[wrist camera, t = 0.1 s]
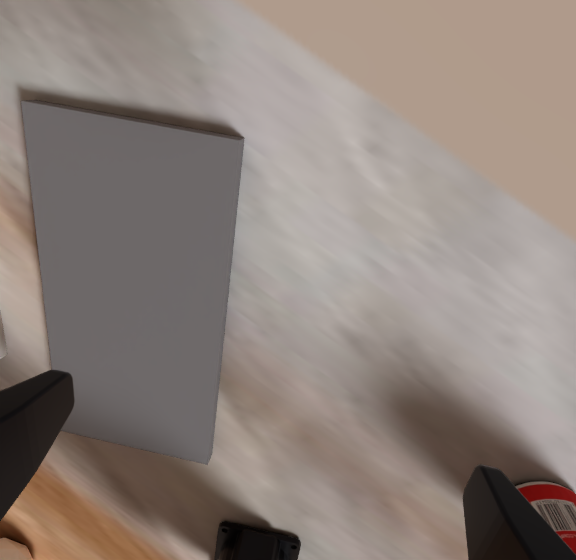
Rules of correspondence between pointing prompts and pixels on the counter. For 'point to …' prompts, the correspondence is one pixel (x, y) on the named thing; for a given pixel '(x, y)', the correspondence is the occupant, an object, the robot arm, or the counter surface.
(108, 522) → the counter surface
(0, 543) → the ball
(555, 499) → the beverage can
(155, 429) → the mat
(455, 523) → the counter surface
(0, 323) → the two-tone stepped block
